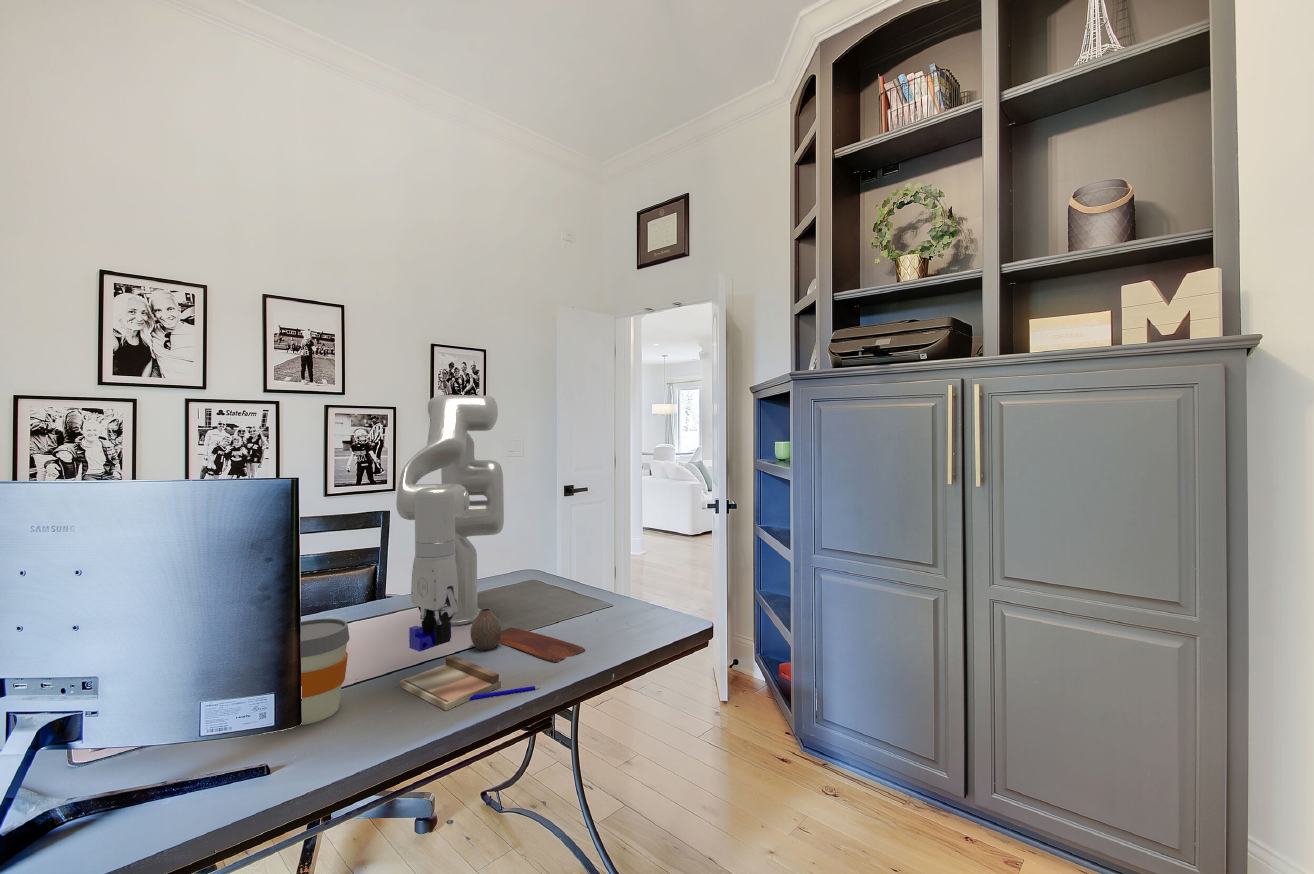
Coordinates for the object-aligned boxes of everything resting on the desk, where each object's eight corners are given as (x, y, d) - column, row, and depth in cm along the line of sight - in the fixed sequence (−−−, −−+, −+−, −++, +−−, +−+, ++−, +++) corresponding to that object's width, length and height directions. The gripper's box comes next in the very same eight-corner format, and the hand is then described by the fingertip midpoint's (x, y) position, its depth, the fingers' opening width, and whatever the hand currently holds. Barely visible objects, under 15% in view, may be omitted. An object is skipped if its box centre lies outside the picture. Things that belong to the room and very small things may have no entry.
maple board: (399, 686, 112) (399, 673, 112) (454, 666, 122) (453, 653, 122) (445, 710, 103) (445, 695, 103) (500, 686, 112) (500, 673, 112)
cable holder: (419, 651, 109) (419, 630, 109) (409, 647, 111) (409, 627, 111) (455, 639, 116) (455, 619, 116) (445, 636, 118) (445, 616, 118)
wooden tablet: (588, 652, 131) (588, 645, 131) (555, 667, 123) (555, 659, 123) (515, 628, 147) (515, 621, 147) (481, 639, 139) (481, 632, 139)
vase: (507, 646, 133) (506, 609, 133) (480, 655, 128) (480, 616, 128) (491, 639, 138) (491, 603, 138) (464, 647, 133) (464, 609, 133)
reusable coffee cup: (352, 717, 100) (351, 633, 100) (266, 738, 94) (265, 647, 93) (347, 690, 111) (346, 613, 111) (269, 707, 104) (268, 625, 104)
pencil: (447, 705, 105) (447, 700, 105) (447, 703, 106) (447, 698, 106) (540, 690, 111) (540, 685, 111) (539, 689, 112) (539, 684, 112)
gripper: (395, 547, 116) (396, 637, 116) (441, 557, 106) (442, 656, 106) (429, 542, 122) (430, 627, 122) (476, 551, 112) (477, 644, 112)
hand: (436, 640), depth 114 cm, fingers closed on cable holder, 3 cm apart
